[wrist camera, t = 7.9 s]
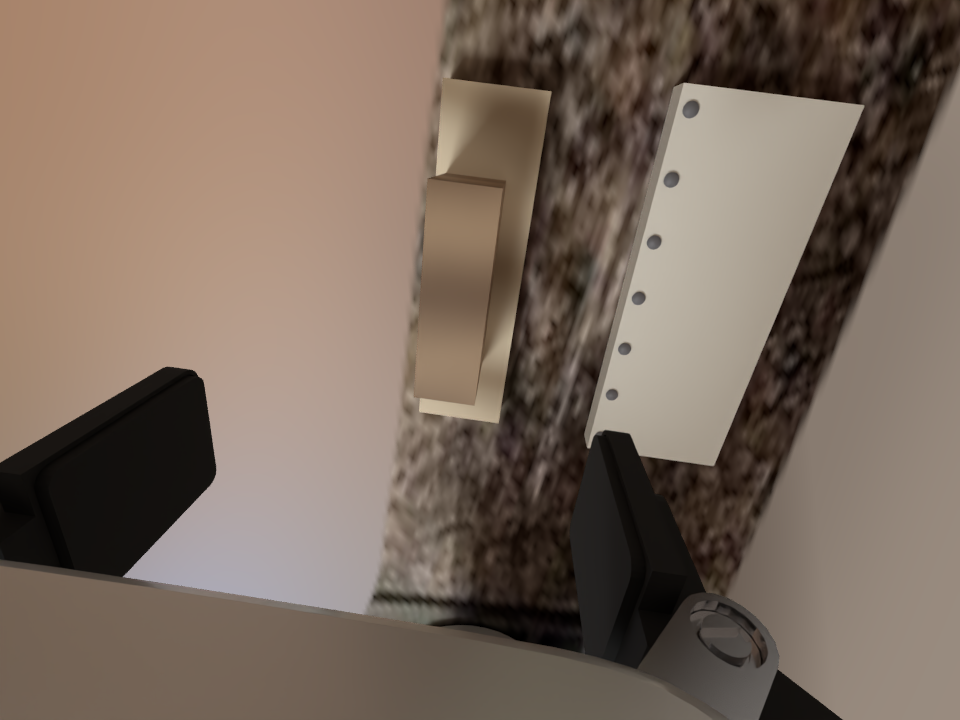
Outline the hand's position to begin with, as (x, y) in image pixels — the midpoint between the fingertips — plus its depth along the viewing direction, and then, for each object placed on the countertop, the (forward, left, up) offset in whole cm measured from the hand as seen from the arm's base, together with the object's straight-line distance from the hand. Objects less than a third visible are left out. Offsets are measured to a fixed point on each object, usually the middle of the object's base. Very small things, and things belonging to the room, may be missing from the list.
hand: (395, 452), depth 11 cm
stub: (0, 0, -17) cm, 17 cm away
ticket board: (+5, -12, -17) cm, 21 cm away
